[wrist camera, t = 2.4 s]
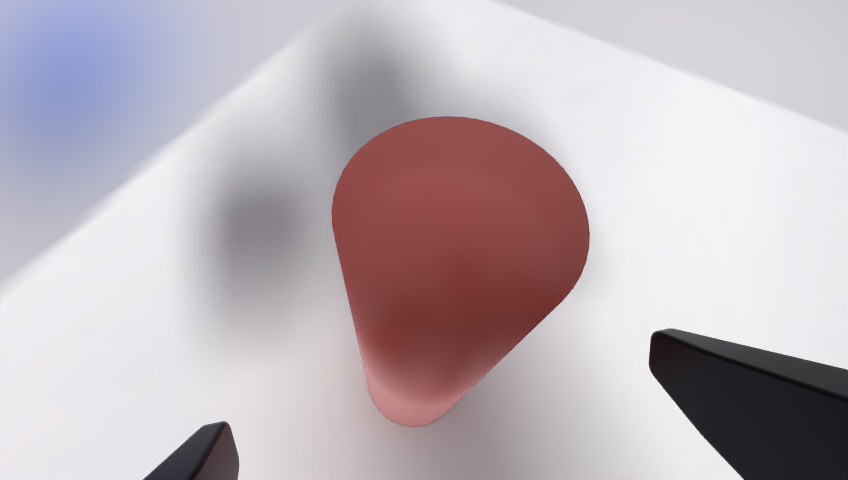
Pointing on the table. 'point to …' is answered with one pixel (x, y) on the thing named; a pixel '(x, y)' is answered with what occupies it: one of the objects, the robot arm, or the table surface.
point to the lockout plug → (451, 255)
